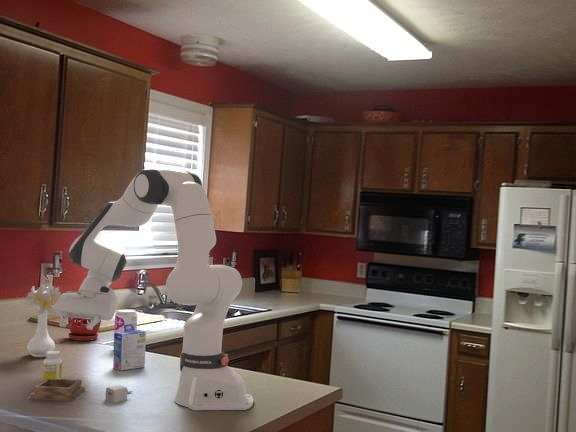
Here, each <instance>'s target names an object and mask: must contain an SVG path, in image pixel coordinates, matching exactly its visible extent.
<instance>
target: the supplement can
mask: <svg viewBox="0 0 576 432" xmlns="http://www.w3.org/2000/svg"><path fill="white" fill-rule="evenodd" d="M129 324H133V327H134V330H138V312H137V310H135V309H129V308H128V309H127V308H125V309H116V311H115V314H114V332H113V334H114V333H117V332H125V330H124V325H129ZM131 328H132V327H130V326H128V327H126V329H131Z"/></svg>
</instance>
